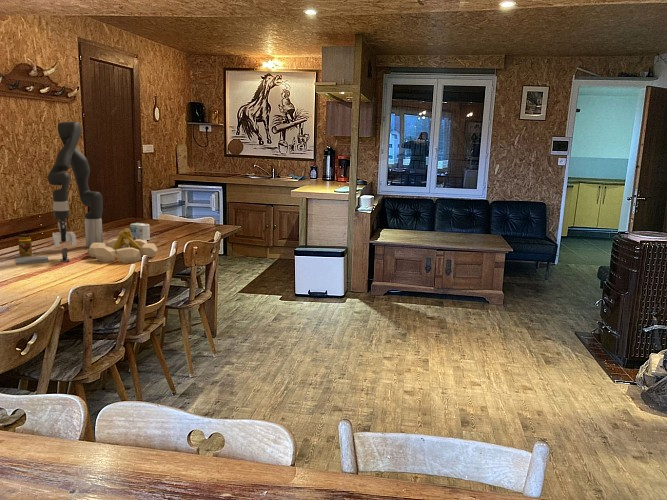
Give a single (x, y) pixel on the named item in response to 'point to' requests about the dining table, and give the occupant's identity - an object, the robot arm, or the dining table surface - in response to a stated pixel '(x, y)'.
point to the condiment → (25, 246)
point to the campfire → (122, 248)
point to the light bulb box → (140, 231)
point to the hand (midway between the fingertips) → (63, 240)
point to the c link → (69, 237)
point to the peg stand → (64, 255)
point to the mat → (32, 260)
